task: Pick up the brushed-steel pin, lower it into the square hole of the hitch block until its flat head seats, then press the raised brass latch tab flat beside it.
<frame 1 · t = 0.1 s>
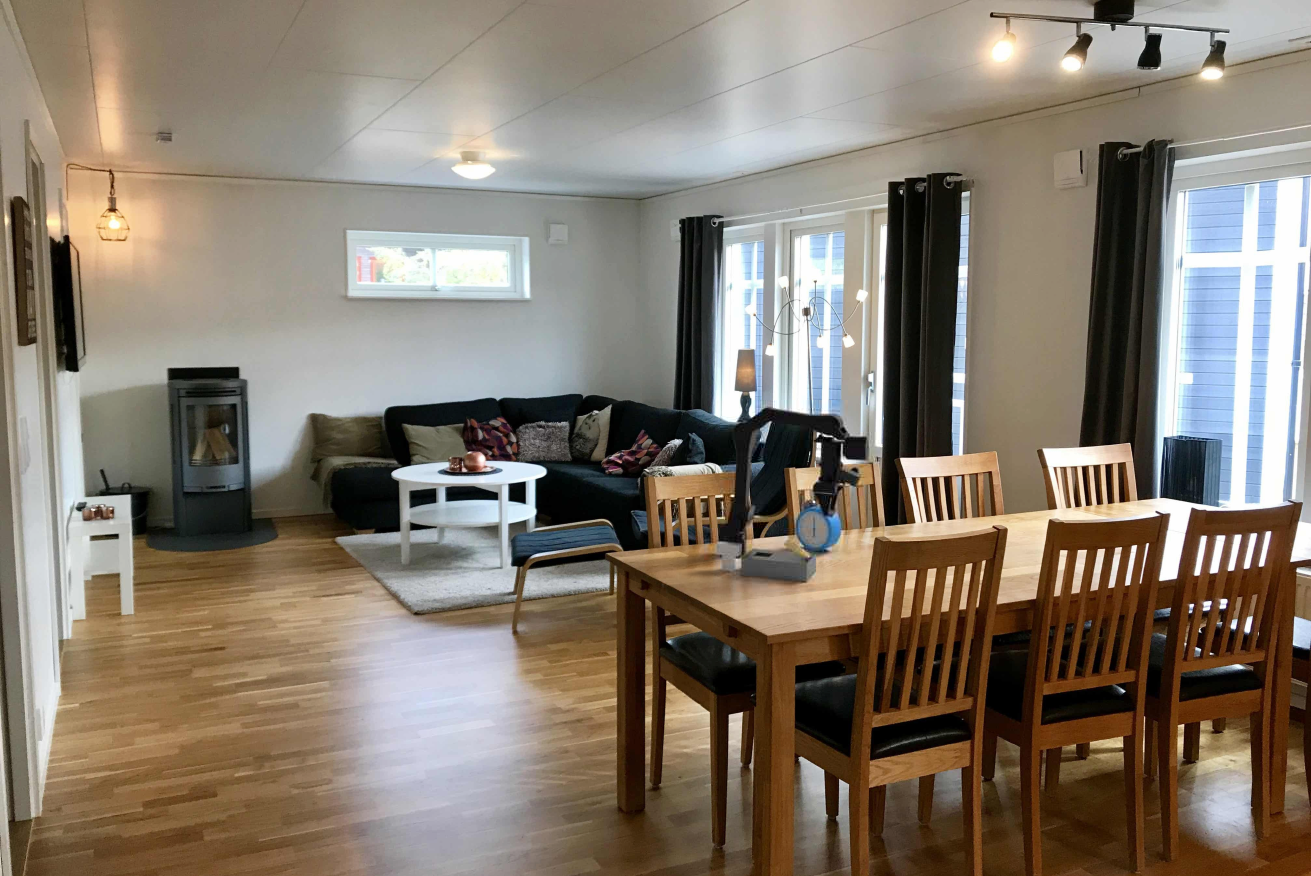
hand: (829, 513, 294), 15 cm above the table, tool pointing down, fingers open, 9 cm apart
alarm clock: (817, 550, 313), on the table
brass latch: (797, 549, 281), point 7 cm above the table, hinge at 30.0°
hitch block: (778, 573, 284), on the table
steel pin: (728, 570, 287), on the table
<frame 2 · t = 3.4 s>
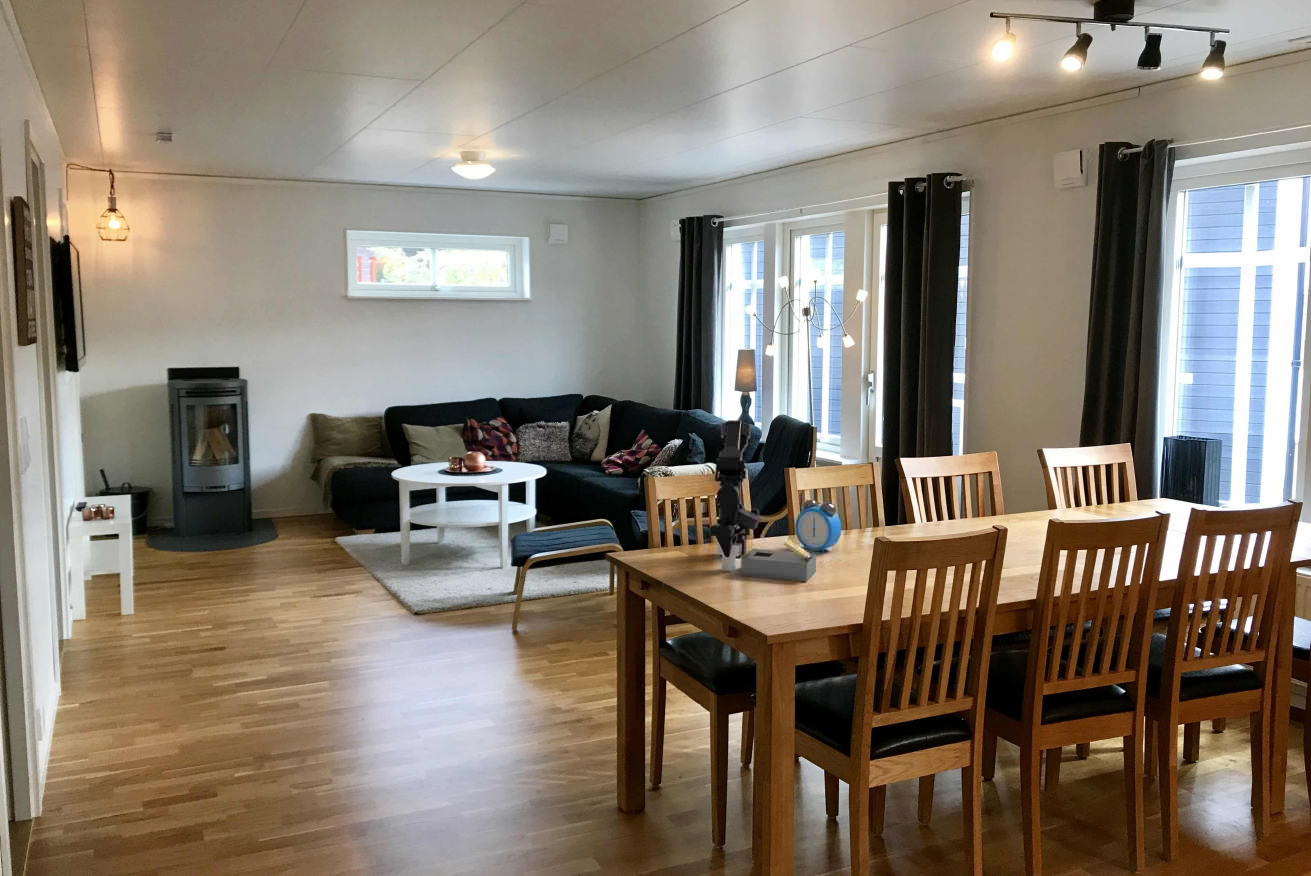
hand: (728, 555, 287), 4 cm above the table, tool pointing down, fingers closed on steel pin, 3 cm apart
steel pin: (728, 570, 287), on the table, touching gripper
everything else where it was.
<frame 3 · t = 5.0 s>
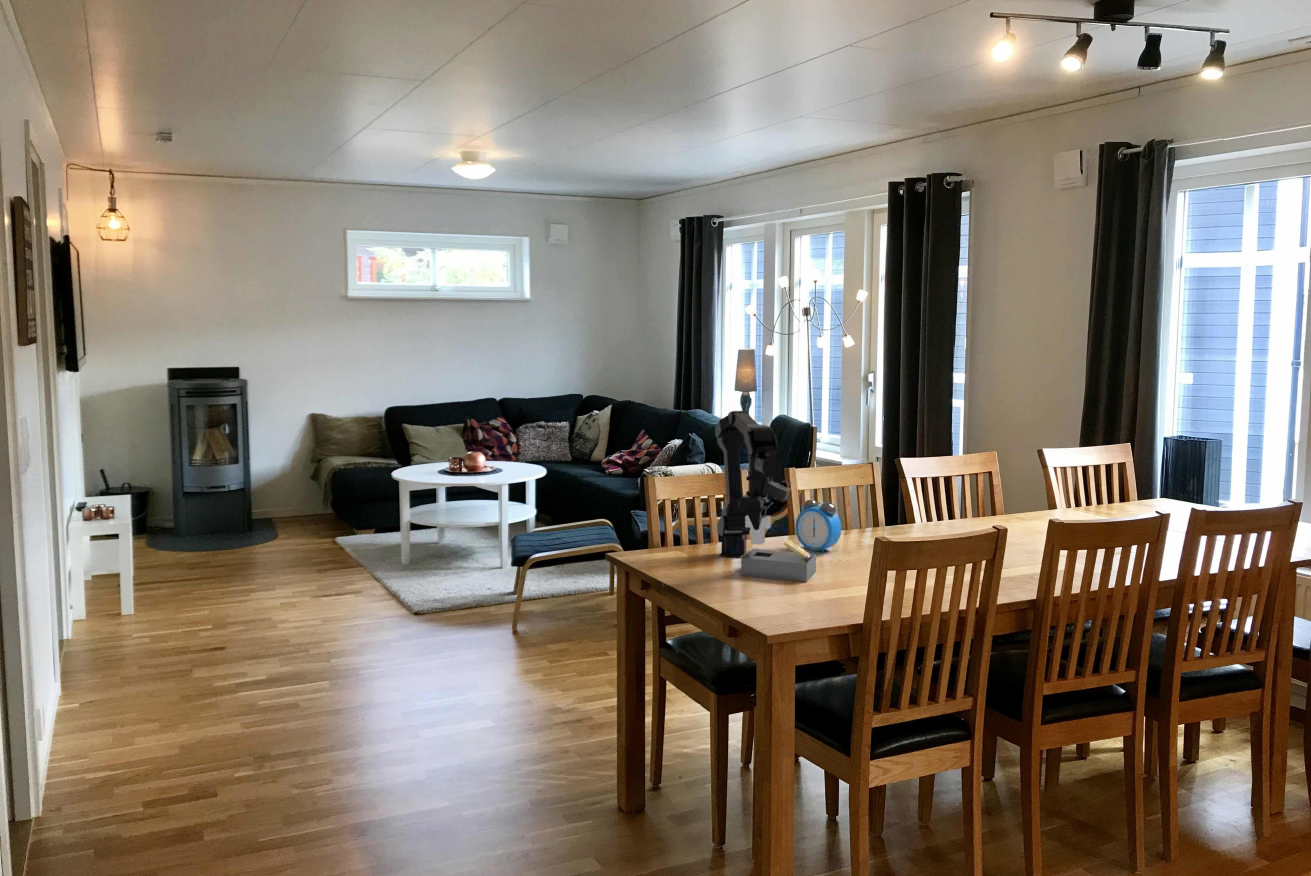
hand: (758, 528, 284), 12 cm above the table, tool pointing down, fingers closed on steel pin, 3 cm apart
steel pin: (757, 543, 284), point 8 cm above the table, touching gripper
everything else where it was.
when the fingers open (6 cm above the table, at t = 6.7 s): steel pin drops 1 cm, resting on hitch block.
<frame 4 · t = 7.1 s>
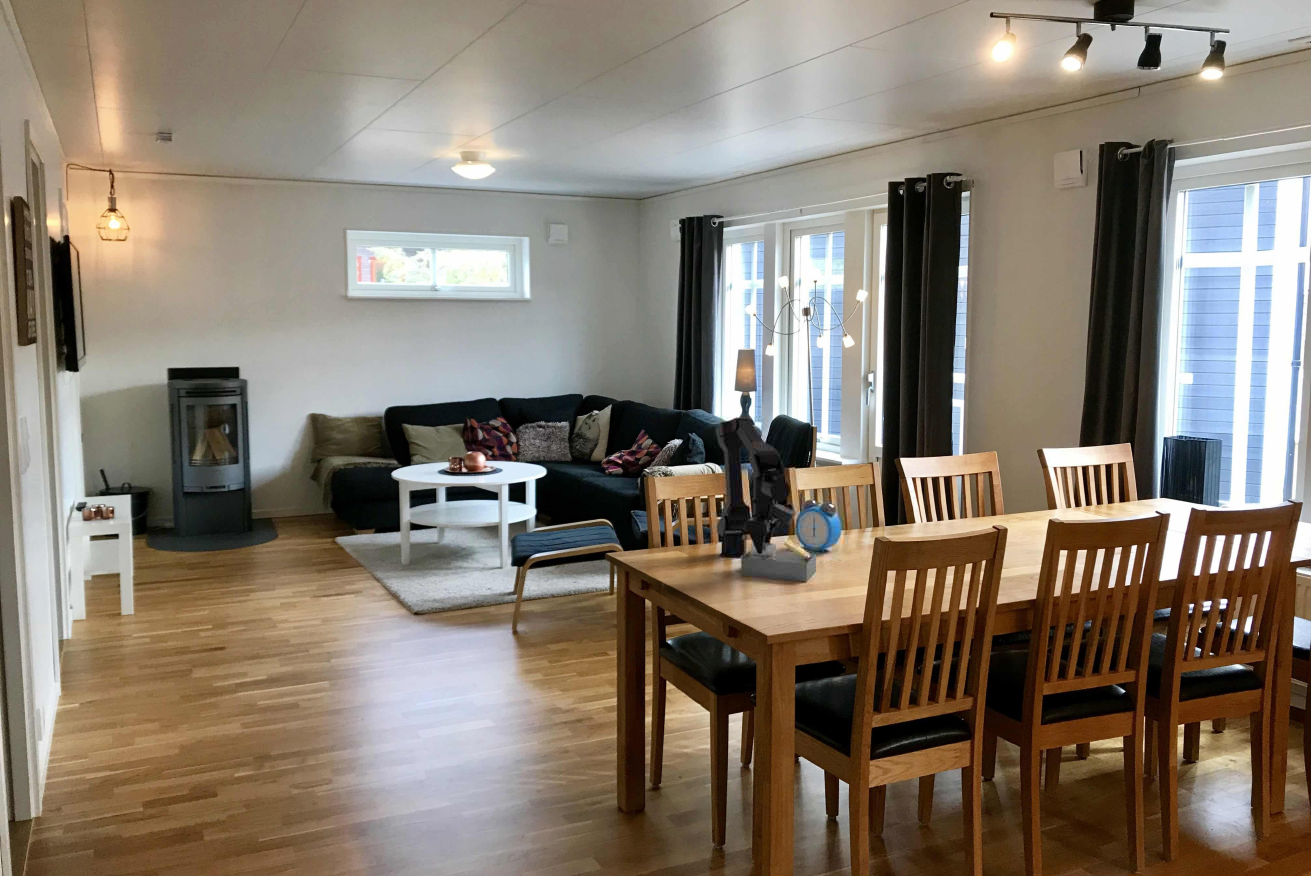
hand: (763, 550, 284), 6 cm above the table, tool pointing down, fingers open, 7 cm apart
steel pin: (762, 570, 285), resting on hitch block
everything else where it was.
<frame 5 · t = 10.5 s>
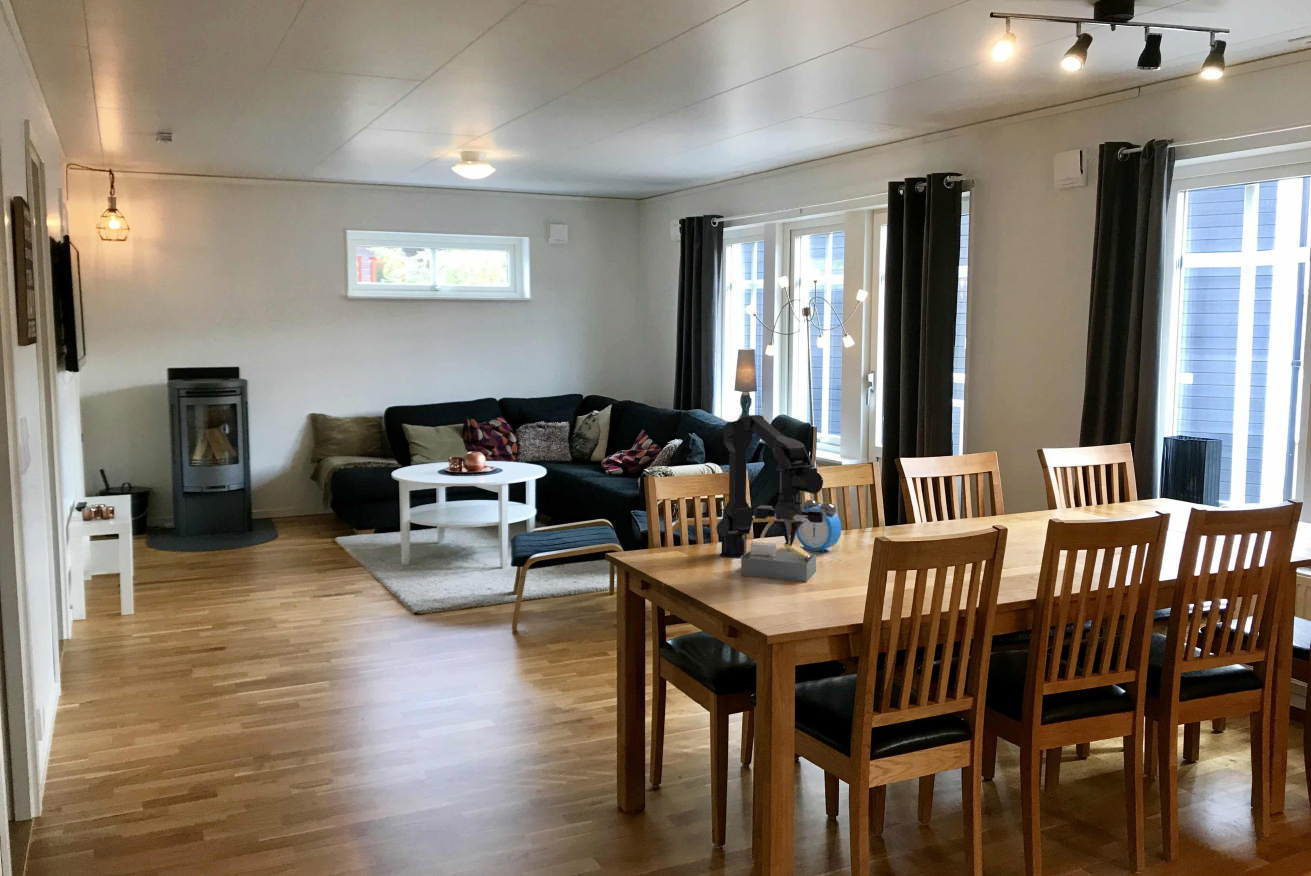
hand: (789, 545, 282), 8 cm above the table, tool pointing down, fingers closed, pressing on brass latch
brass latch: (797, 550, 281), point 7 cm above the table, hinge at 27.3°, touching gripper
everything else where it was.
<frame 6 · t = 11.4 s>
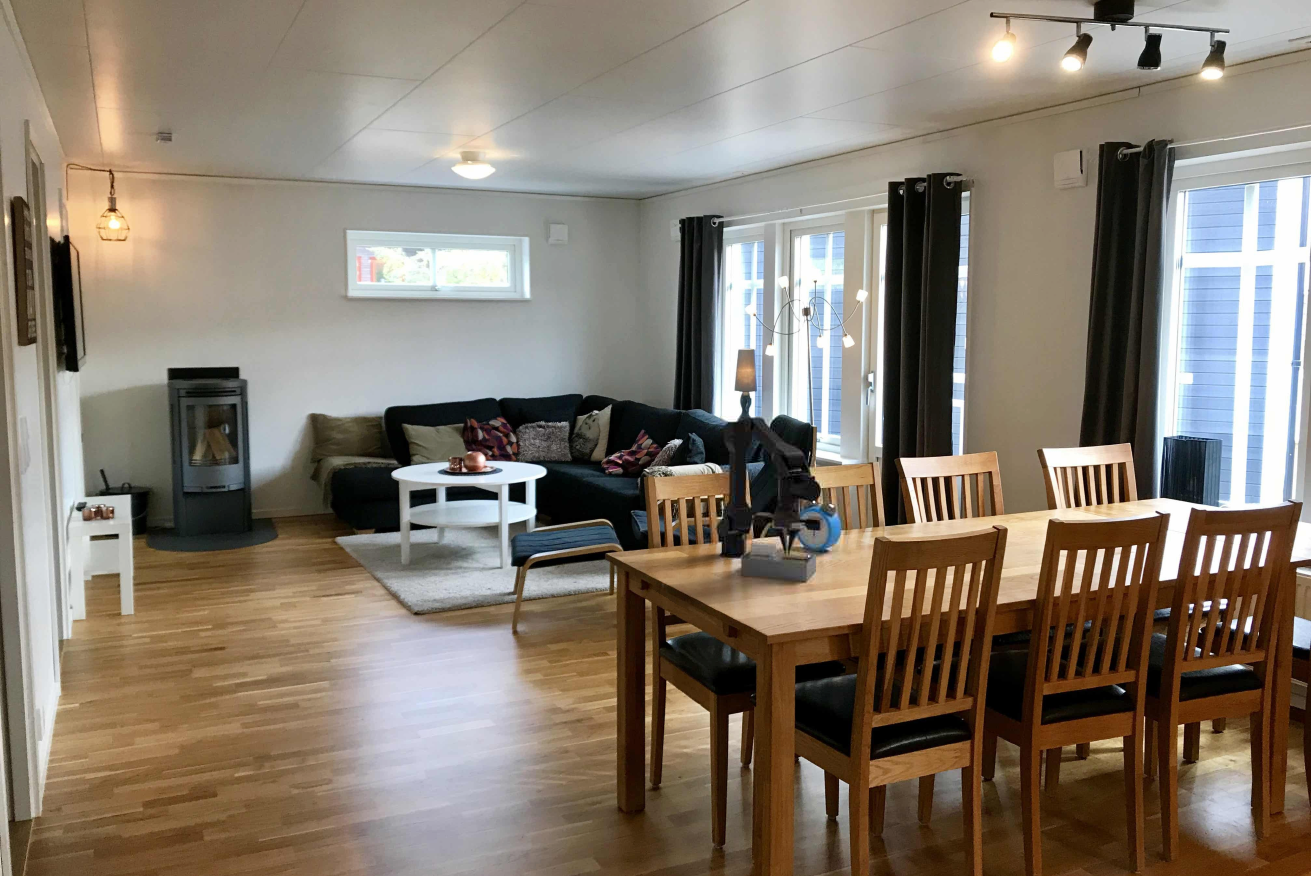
hand: (787, 552, 282), 6 cm above the table, tool pointing down, fingers closed, pressing on brass latch
brass latch: (796, 554, 281), point 6 cm above the table, hinge at 3.3°, touching gripper
everything else where it was.
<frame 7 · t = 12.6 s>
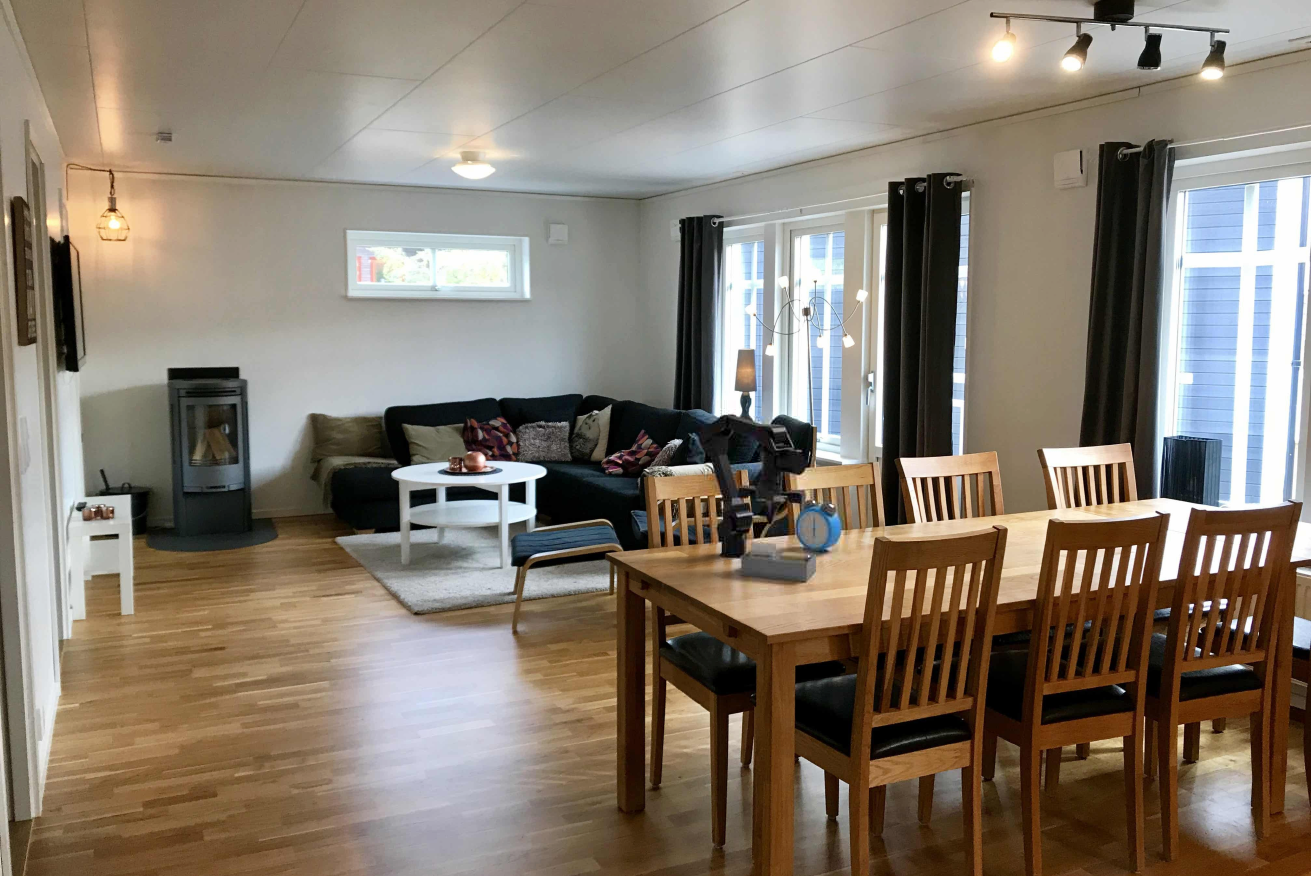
hand: (770, 524, 293), 12 cm above the table, tool pointing down, fingers closed
brass latch: (796, 555, 281), point 5 cm above the table, hinge at -1.3°, touching hitch block
everything else where it was.
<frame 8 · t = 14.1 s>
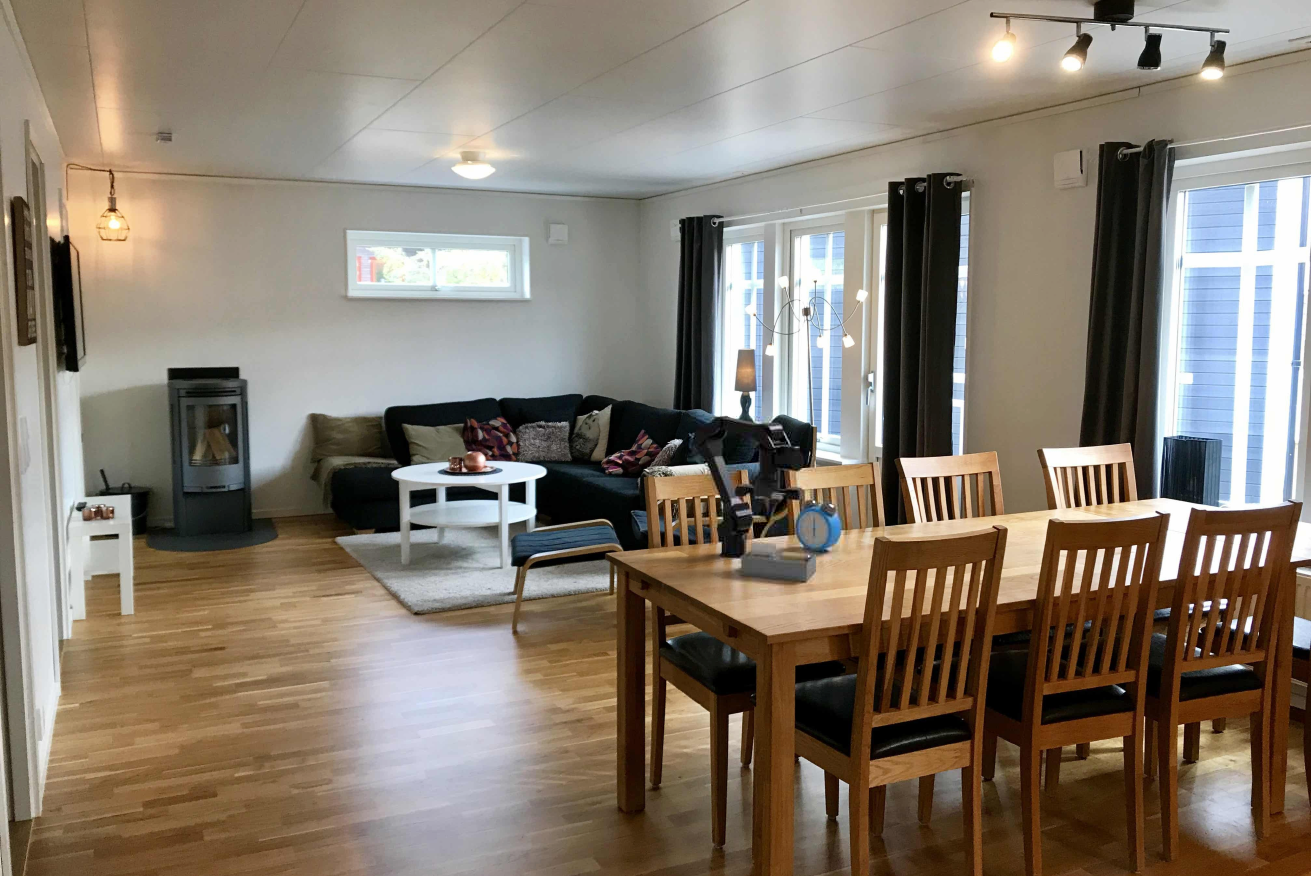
hand: (768, 521, 294), 12 cm above the table, tool pointing down, fingers closed
nothing on the table moved.
at the end: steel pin 0.0 cm from the target spot on the hitch block, point 0.5 cm above the hitch block's base; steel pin tilted 0°; brass latch at -1° (first picture: +30°) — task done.
